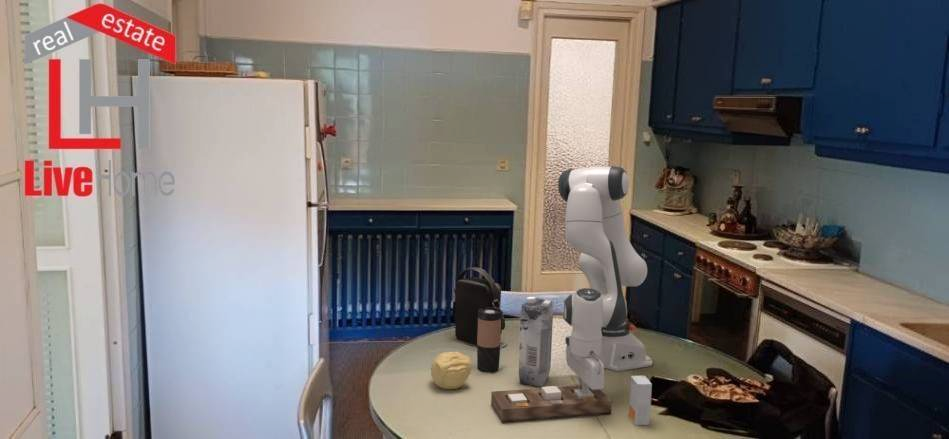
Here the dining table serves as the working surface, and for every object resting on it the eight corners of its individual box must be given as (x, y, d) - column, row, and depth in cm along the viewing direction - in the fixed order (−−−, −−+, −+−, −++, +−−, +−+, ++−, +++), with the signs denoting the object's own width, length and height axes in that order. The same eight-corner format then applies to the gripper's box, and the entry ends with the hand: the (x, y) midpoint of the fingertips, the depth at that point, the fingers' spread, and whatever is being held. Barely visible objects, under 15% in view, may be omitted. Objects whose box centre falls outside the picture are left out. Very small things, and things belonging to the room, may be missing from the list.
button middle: (555, 395, 197) (556, 386, 196) (560, 402, 192) (561, 392, 192) (541, 396, 196) (541, 387, 195) (546, 403, 191) (546, 393, 191)
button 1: (522, 403, 195) (522, 393, 194) (526, 409, 190) (527, 399, 190) (507, 404, 194) (507, 394, 193) (511, 411, 189) (512, 400, 189)
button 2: (587, 398, 199) (588, 388, 199) (593, 404, 195) (594, 394, 195) (573, 399, 198) (574, 389, 198) (579, 405, 194) (579, 395, 194)
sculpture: (441, 395, 202) (441, 361, 200) (425, 381, 213) (425, 348, 211) (475, 389, 207) (476, 355, 206) (457, 375, 218) (458, 343, 216)
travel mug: (497, 374, 219) (499, 314, 216) (474, 372, 221) (475, 312, 218) (501, 365, 227) (503, 308, 224) (478, 363, 228) (480, 306, 225)
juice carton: (551, 376, 219) (555, 295, 214) (544, 389, 209) (547, 304, 205) (524, 372, 222) (528, 292, 217) (516, 384, 212) (519, 300, 207)
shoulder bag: (443, 337, 254) (445, 264, 249) (459, 331, 261) (461, 260, 256) (492, 352, 240) (494, 274, 235) (507, 345, 247) (509, 270, 242)
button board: (594, 396, 204) (595, 383, 203) (611, 414, 192) (612, 399, 192) (491, 404, 197) (491, 390, 196) (502, 423, 185) (502, 408, 184)
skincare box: (627, 415, 192) (630, 375, 190) (642, 415, 192) (645, 375, 190) (634, 425, 186) (637, 383, 184) (649, 425, 186) (652, 383, 184)
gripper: (611, 358, 185) (608, 406, 187) (582, 334, 204) (580, 378, 206) (589, 359, 183) (587, 408, 185) (563, 335, 203) (560, 379, 205)
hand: (583, 392), depth 196 cm, fingers closed, pressing on button 2
